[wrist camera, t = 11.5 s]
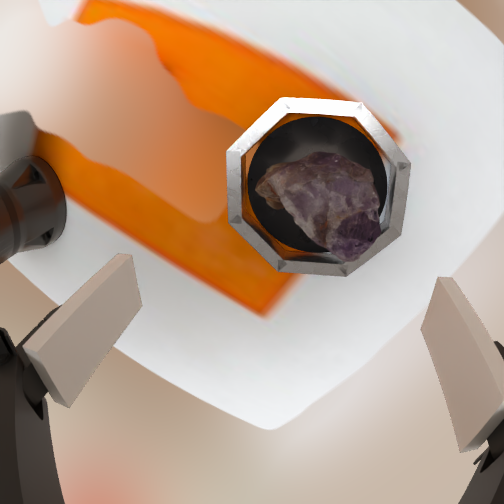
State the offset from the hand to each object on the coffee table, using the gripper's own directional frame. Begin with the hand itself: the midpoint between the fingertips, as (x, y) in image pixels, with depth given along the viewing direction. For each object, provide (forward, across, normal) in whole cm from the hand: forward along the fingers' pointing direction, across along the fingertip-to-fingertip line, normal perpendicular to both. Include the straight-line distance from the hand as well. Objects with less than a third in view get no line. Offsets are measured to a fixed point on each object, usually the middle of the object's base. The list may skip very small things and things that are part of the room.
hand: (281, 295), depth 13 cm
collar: (+23, +2, -1) cm, 23 cm away
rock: (+23, +3, -1) cm, 23 cm away
